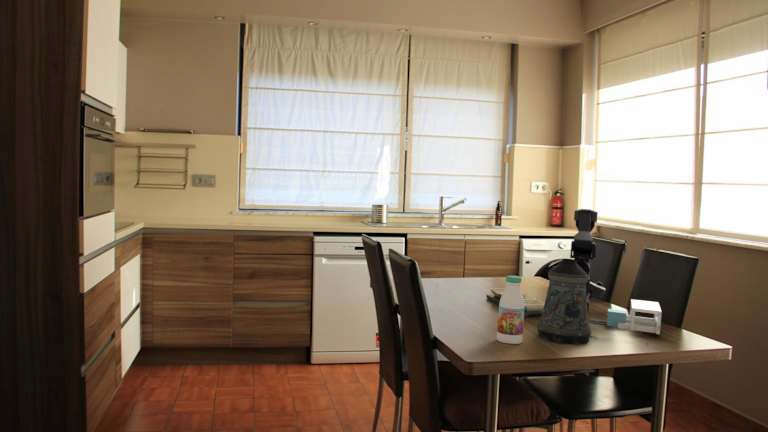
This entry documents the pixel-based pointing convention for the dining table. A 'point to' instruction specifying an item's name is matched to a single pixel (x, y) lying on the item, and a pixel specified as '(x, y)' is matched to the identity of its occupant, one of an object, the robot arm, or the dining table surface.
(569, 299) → the beer stein
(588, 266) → the robot arm
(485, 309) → the dining table surface
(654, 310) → the shelf
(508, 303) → the milk bottle
